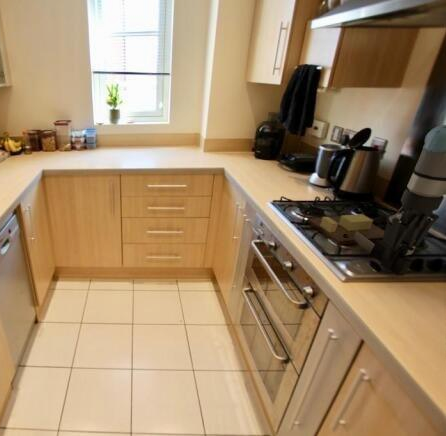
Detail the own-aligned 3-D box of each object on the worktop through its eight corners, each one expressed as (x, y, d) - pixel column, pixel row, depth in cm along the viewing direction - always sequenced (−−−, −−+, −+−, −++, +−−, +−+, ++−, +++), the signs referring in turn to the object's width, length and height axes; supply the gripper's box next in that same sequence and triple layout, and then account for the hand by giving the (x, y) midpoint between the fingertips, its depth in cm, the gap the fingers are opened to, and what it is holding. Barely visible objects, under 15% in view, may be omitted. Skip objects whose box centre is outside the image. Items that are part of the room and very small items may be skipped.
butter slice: (335, 232, 109) (338, 223, 107) (329, 232, 109) (332, 223, 107) (325, 225, 113) (327, 216, 112) (319, 225, 113) (322, 216, 112)
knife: (403, 275, 88) (412, 261, 85) (398, 275, 88) (406, 261, 85) (355, 238, 103) (361, 225, 100) (350, 239, 103) (356, 226, 100)
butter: (369, 229, 110) (373, 220, 109) (348, 230, 109) (352, 222, 108) (358, 222, 115) (362, 213, 113) (338, 224, 114) (341, 215, 112)
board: (392, 240, 106) (394, 236, 106) (337, 244, 105) (338, 241, 104) (355, 218, 120) (357, 214, 120) (306, 222, 119) (307, 218, 118)
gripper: (436, 184, 84) (400, 257, 95) (385, 187, 83) (355, 261, 94) (466, 195, 77) (424, 272, 88) (412, 199, 76) (376, 277, 87)
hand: (389, 266), depth 91 cm, fingers closed on knife, 2 cm apart
